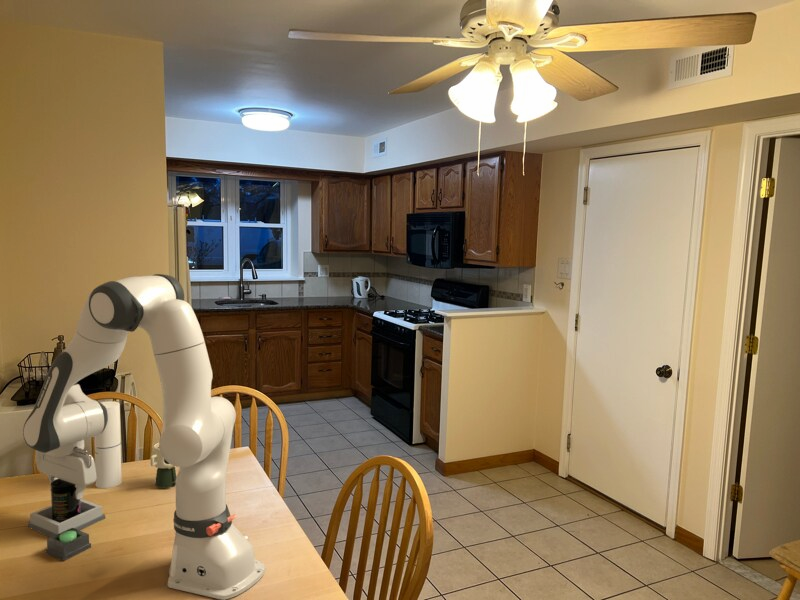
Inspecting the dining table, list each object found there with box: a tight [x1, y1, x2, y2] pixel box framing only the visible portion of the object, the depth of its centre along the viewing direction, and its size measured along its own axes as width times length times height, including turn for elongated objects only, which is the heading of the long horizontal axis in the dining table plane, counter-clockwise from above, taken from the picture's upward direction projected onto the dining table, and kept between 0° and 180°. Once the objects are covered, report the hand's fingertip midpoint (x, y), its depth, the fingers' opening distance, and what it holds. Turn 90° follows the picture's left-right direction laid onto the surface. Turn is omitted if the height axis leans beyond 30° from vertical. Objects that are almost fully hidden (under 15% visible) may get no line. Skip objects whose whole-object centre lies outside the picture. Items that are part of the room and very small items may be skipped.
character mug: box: [150, 442, 177, 489], centre depth 176 cm, size 11×7×13 cm, turn 153°
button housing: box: [44, 528, 92, 562], centre depth 139 cm, size 7×7×4 cm
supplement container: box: [50, 478, 81, 523], centre depth 152 cm, size 7×7×10 cm
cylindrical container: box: [93, 401, 123, 489], centre depth 175 cm, size 7×7×25 cm
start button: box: [59, 531, 77, 543], centre depth 139 cm, size 4×4×2 cm
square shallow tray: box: [26, 498, 106, 538], centre depth 152 cm, size 13×13×4 cm
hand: (67, 494), depth 152 cm, fingers open, 8 cm apart
